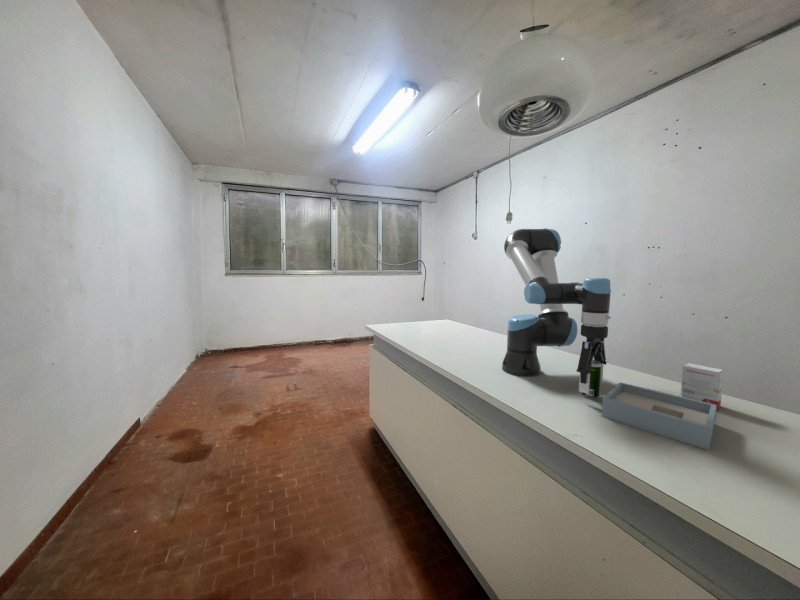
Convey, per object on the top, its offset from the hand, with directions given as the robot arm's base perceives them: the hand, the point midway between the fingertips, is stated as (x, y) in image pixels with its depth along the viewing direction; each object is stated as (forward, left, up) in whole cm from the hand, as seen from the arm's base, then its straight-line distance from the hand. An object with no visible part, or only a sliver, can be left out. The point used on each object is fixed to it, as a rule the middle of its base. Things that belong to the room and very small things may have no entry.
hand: (591, 387), depth 101 cm
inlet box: (+18, -4, -3) cm, 18 cm away
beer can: (0, 0, -3) cm, 3 cm away
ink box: (+25, +20, -3) cm, 32 cm away
